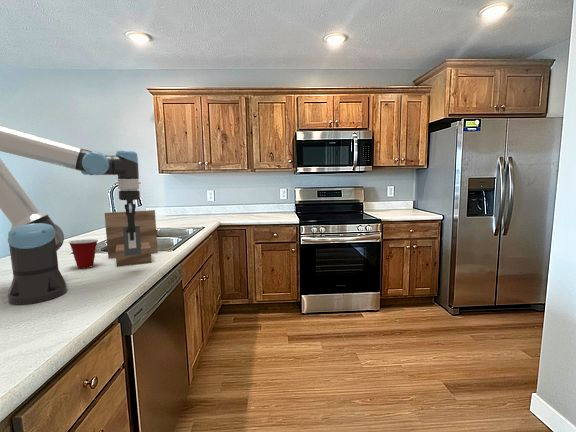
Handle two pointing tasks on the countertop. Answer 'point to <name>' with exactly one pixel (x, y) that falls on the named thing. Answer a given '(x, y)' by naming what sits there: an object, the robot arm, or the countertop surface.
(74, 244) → the plastic cup
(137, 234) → the dark grey rectangular post
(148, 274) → the countertop surface
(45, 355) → the countertop surface
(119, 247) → the wooden panel stand
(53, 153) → the robot arm
